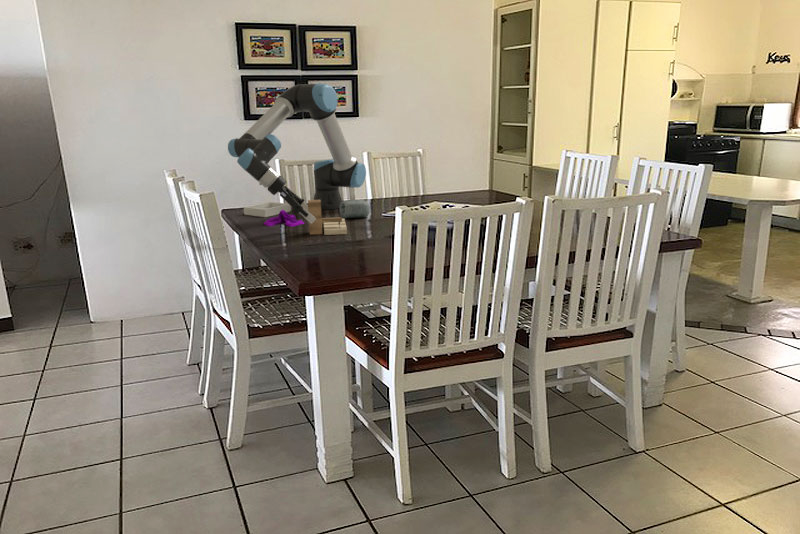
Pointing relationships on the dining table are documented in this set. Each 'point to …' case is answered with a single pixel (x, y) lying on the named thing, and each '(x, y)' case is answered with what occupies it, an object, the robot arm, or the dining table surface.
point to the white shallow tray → (266, 209)
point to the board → (335, 228)
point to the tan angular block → (318, 217)
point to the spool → (354, 209)
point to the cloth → (283, 220)
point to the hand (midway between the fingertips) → (313, 218)
